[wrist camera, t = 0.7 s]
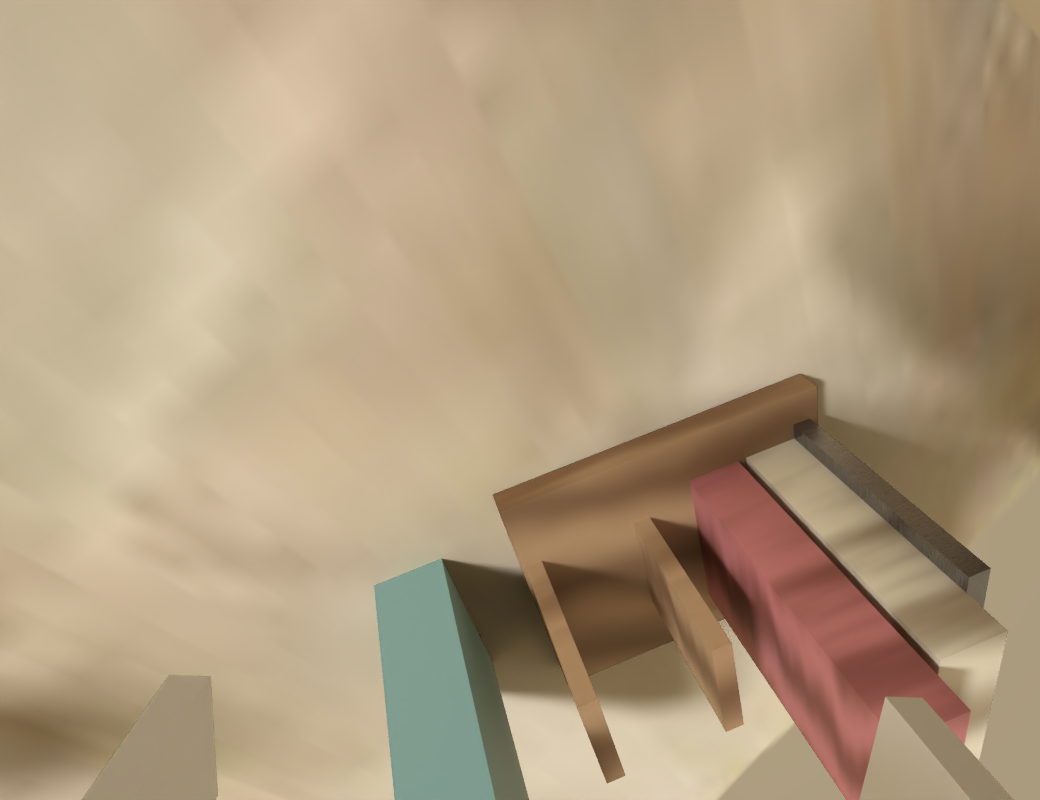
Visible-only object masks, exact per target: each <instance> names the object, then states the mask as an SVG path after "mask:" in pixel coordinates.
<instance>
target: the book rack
mask: <svg viewBox="0 0 1040 800" xmlns="http://www.w3.org/2000/svg"><path fill="white" fill-rule="evenodd" d="M493 497H494V499H495V502H496V505H497V508H498V510H499V513H500V516H501V518H502V521H503V523H504V526H505V528H506V531H507V533H508V536H509V538H510V541H511V543H512V546H513V548H514V551H515V553H516V556H517V558H518V561H519V563H520V566H521V568H522V571H523V573H524V576H525V578H526V581H527V583H528V586H529V588H530V591H531V593H532V596H533V598H534V601H535V603H536V606H537V608H538V611H539V614H540V616H541V619H542V621H543V624H544V626H545V629H546V631H547V634H548V636H549V639H550V641H551V644H552V646H553V649H554V651H555V654H556V656H557V659H558V661H559V664H560V666H561V669H562V671H563V674H564V676H565V679H566V681H567V684H568V685H569V687H570V690H571V693H572V696H573V698H574V701H575V704H576V706H577V709H578V711H579V714H580V716H581V719H582V722H583V724H584V727H585V729H586V732H587V734H588V737H589V739H590V742H591V744H592V747H593V749H594V752H595V754H596V757H597V759H598V762H599V764H600V767H601V769H602V772H603V774H604V777H605V779H606V782H607V783H609V782H612V781H614V780H616V779H619V778H621V777H623V776H625V773H624V770H623V768H622V765H621V762H620V759H619V757H618V754H617V751H616V748H615V745H614V743H613V740H612V737H611V734H610V732H609V729H608V726H607V723H606V721H605V718H604V715H603V712H602V710H601V707H600V704H599V701H598V699H597V696H596V694H595V691H594V689H593V686H592V684H591V681H590V679H589V675H592V674H594V673H596V672H599V671H601V670H604V669H606V668H608V667H611V666H613V665H615V664H618V663H620V662H623V661H625V660H627V659H630V658H632V657H635V656H637V655H639V654H642V653H644V652H646V651H649V650H651V649H654V648H656V647H658V646H661V645H663V644H665V643H668V642H670V641H673V640H674V641H675V643H676V644H677V646H678V648H679V650H680V651H681V653H682V655H683V657H684V658H685V660H686V662H687V664H688V666H689V667H690V669H691V671H692V673H693V674H694V676H695V678H696V680H697V681H698V683H699V685H700V687H701V689H702V690H703V692H704V694H705V696H706V697H707V699H708V701H709V703H710V704H711V706H712V708H713V710H714V712H715V713H716V715H717V717H718V719H719V720H720V722H721V724H722V726H723V727H724V729H725V731H726V732H727V731H729V730H732V729H734V728H736V727H739V726H741V725H743V724H744V723H743V716H742V709H741V703H740V696H739V690H738V683H737V676H736V670H735V663H734V657H733V650H732V643H731V641H730V640H729V638H728V637H727V635H726V634H725V632H724V631H723V629H722V628H721V626H720V624H719V623H718V621H720V620H723V619H726V621H727V622H728V624H729V625H730V627H731V628H732V630H733V631H734V633H735V634H736V636H737V637H738V639H739V640H740V642H741V643H742V645H743V646H744V648H745V649H746V651H747V652H748V654H749V655H750V657H751V658H752V660H753V661H754V663H755V664H756V666H757V667H758V669H759V670H760V672H761V673H762V675H763V676H764V678H765V679H766V681H767V682H768V684H769V685H770V687H771V688H772V690H773V691H774V692H775V694H776V695H777V697H778V698H779V700H780V701H781V703H782V704H783V706H784V707H785V709H786V710H787V712H788V713H789V715H790V716H791V718H792V719H793V721H794V722H795V724H796V725H797V727H798V728H799V730H800V731H801V733H802V734H803V736H804V737H805V739H806V740H807V742H808V743H809V745H810V746H811V748H812V749H813V751H814V752H815V754H816V755H817V757H818V758H819V760H820V761H821V763H822V764H823V766H824V767H825V769H826V770H827V772H828V773H829V775H830V776H831V777H832V779H833V781H834V782H835V783H836V785H837V787H838V788H839V790H840V791H841V792H842V794H843V796H844V797H845V799H846V800H859V799H860V795H861V791H862V787H863V783H864V779H865V776H866V772H867V768H868V764H869V760H870V756H871V752H872V748H873V744H874V740H875V736H876V732H877V728H878V724H879V720H880V716H881V712H882V708H883V704H884V700H885V697H916V698H923V699H924V700H925V701H926V702H927V703H928V705H929V706H930V707H931V708H932V709H933V710H934V711H935V712H936V713H937V715H938V716H939V717H940V718H941V719H942V720H943V721H944V722H945V723H946V725H947V726H948V727H949V728H950V729H951V730H952V731H953V732H954V733H955V735H956V736H957V737H958V738H959V739H960V740H961V741H962V742H963V743H964V745H965V746H966V747H967V748H968V749H969V750H970V751H971V752H972V753H973V755H974V756H975V757H976V758H977V759H978V760H979V759H980V754H981V750H982V745H983V741H984V736H985V732H986V727H987V723H988V719H989V714H990V710H991V705H992V701H993V696H994V692H995V687H996V683H997V678H998V674H999V669H1000V665H1001V660H1002V656H1003V651H1004V647H1005V642H1006V638H1007V634H1008V630H1007V629H1006V628H1005V627H1003V626H1002V625H1001V624H1000V623H999V622H998V621H997V620H995V618H993V617H992V616H991V615H990V614H989V613H988V612H987V611H986V610H985V609H983V606H984V600H985V596H986V590H987V585H988V579H989V574H990V567H988V566H987V565H986V564H985V563H983V562H982V561H981V560H980V559H979V558H977V557H976V556H975V555H974V554H973V553H971V552H970V551H969V550H968V549H967V548H965V547H964V546H963V545H962V544H961V543H959V542H958V541H957V540H956V539H955V538H953V537H952V536H951V535H950V534H949V533H947V532H946V531H945V530H944V529H943V528H941V527H940V526H939V525H938V524H936V523H935V522H934V521H933V520H932V519H930V518H929V517H928V516H927V515H926V514H924V513H923V512H922V511H921V510H920V509H918V508H917V507H916V506H915V505H914V504H912V503H911V502H910V501H909V500H908V499H906V498H905V497H904V496H903V495H901V494H900V493H899V492H898V491H897V490H895V489H894V488H893V487H892V486H891V485H889V484H888V483H887V482H886V481H885V480H883V479H882V478H881V477H880V476H879V475H877V474H876V473H875V472H874V471H873V470H871V469H870V468H869V467H868V466H866V465H865V464H864V463H863V462H862V461H860V460H859V459H858V458H857V457H856V456H854V455H853V454H852V453H851V452H850V451H848V450H847V449H846V448H845V447H844V446H842V445H841V444H840V443H839V442H838V441H836V440H835V439H834V438H833V437H832V436H830V435H829V434H828V433H827V432H825V431H824V430H823V429H822V428H821V427H819V426H818V411H817V386H816V385H815V384H813V383H812V382H811V381H809V380H808V379H807V378H805V377H804V376H803V375H801V374H798V375H796V376H793V377H791V378H788V379H785V380H783V381H780V382H778V383H775V384H773V385H770V386H768V387H765V388H763V389H760V390H758V391H755V392H752V393H750V394H747V395H745V396H742V397H740V398H737V399H735V400H732V401H730V402H727V403H725V404H722V405H719V406H717V407H714V408H712V409H709V410H707V411H704V412H702V413H699V414H697V415H694V416H692V417H689V418H687V419H684V420H681V421H679V422H676V423H674V424H671V425H669V426H666V427H664V428H661V429H659V430H656V431H654V432H651V433H648V434H646V435H643V436H641V437H638V438H636V439H633V440H631V441H628V442H626V443H623V444H621V445H618V446H615V447H613V448H610V449H608V450H605V451H603V452H600V453H598V454H595V455H593V456H590V457H588V458H585V459H582V460H580V461H577V462H575V463H572V464H570V465H567V466H565V467H562V468H560V469H557V470H555V471H552V472H549V473H547V474H544V475H542V476H539V477H537V478H534V479H532V480H529V481H527V482H524V483H522V484H519V485H516V486H514V487H511V488H509V489H506V490H504V491H501V492H499V493H496V494H494V495H493Z"/></svg>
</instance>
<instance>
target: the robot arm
mask: <svg viewBox="0 0 1040 800" xmlns="http://www.w3.org/2000/svg"><path fill="white" fill-rule="evenodd" d="M217 796H218V788H217V771H216V755H215V738H214V721H213V705H212V688H211V676H179V675H169V676H168V677H167V678H166V680H165V681H164V683H163V684H162V686H161V687H160V688H159V690H158V691H157V693H156V694H155V696H154V697H153V698H152V700H151V701H150V703H149V704H148V706H147V707H146V708H145V710H144V711H143V713H142V714H141V716H140V717H139V718H138V720H137V721H136V723H135V724H134V726H133V727H132V728H131V730H130V731H129V733H128V734H127V736H126V737H125V738H124V740H123V741H122V743H121V744H120V746H119V747H118V748H117V750H116V751H115V753H114V754H113V756H112V757H111V758H110V760H109V761H108V763H107V764H106V766H105V767H104V768H103V770H102V771H101V773H100V774H99V776H98V777H97V778H96V780H95V781H94V783H93V784H92V786H91V787H90V788H89V790H88V791H87V793H86V794H85V796H84V797H83V798H82V800H216V798H217ZM859 800H1014V799H1013V798H1012V797H1011V796H1010V795H1009V793H1008V792H1007V791H1006V790H1005V789H1004V788H1003V787H1002V786H1001V785H1000V783H999V782H998V781H997V780H996V779H995V778H994V777H993V776H992V775H991V773H990V772H989V771H988V770H987V769H986V768H985V767H984V766H983V765H982V763H981V762H980V761H979V760H978V759H977V758H976V757H975V756H974V755H973V753H972V752H971V751H970V750H969V749H968V748H967V747H966V746H965V745H964V743H963V742H962V741H961V740H960V739H959V738H958V737H957V736H956V735H955V733H954V732H953V731H952V730H951V729H950V728H949V727H948V726H947V725H946V723H945V722H944V721H943V720H942V719H941V718H940V717H939V716H938V715H937V713H936V712H935V711H934V710H933V709H932V708H931V707H930V706H929V705H928V703H927V702H926V701H925V700H924V699H923V698H916V697H885V700H884V704H883V708H882V712H881V716H880V720H879V724H878V728H877V732H876V736H875V740H874V744H873V748H872V752H871V756H870V760H869V764H868V768H867V772H866V776H865V779H864V783H863V787H862V791H861V795H860V799H859Z"/></svg>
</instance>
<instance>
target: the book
mask: <svg viewBox="0 0 1040 800" xmlns="http://www.w3.org/2000/svg"><path fill="white" fill-rule="evenodd" d="M374 588H375V598H376V609H377V619H378V630H379V640H380V651H381V661H382V672H383V682H384V692H385V703H386V713H387V724H388V734H389V745H390V755H391V766H392V776H393V786H394V797H395V800H529V798H528V794H527V790H526V787H525V783H524V779H523V775H522V771H521V768H520V764H519V760H518V756H517V753H516V749H515V745H514V741H513V738H512V734H511V730H510V726H509V723H508V719H507V715H506V711H505V708H504V704H503V700H502V696H501V693H500V689H499V685H498V681H497V678H496V674H495V670H494V666H493V663H492V660H491V658H490V656H489V654H488V652H487V650H486V648H485V646H484V644H483V642H482V640H481V638H480V636H479V634H478V632H477V630H476V628H475V626H474V624H473V622H472V620H471V618H470V616H469V614H468V612H467V610H466V607H465V605H464V603H463V601H462V599H461V597H460V595H459V593H458V591H457V589H456V587H455V585H454V583H453V581H452V579H451V577H450V575H449V573H448V571H447V569H446V567H445V565H444V563H443V561H442V559H440V560H437V561H435V562H432V563H430V564H427V565H425V566H422V567H420V568H417V569H415V570H412V571H410V572H407V573H405V574H402V575H400V576H397V577H395V578H392V579H390V580H387V581H385V582H382V583H380V584H377V585H375V586H374Z"/></svg>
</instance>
